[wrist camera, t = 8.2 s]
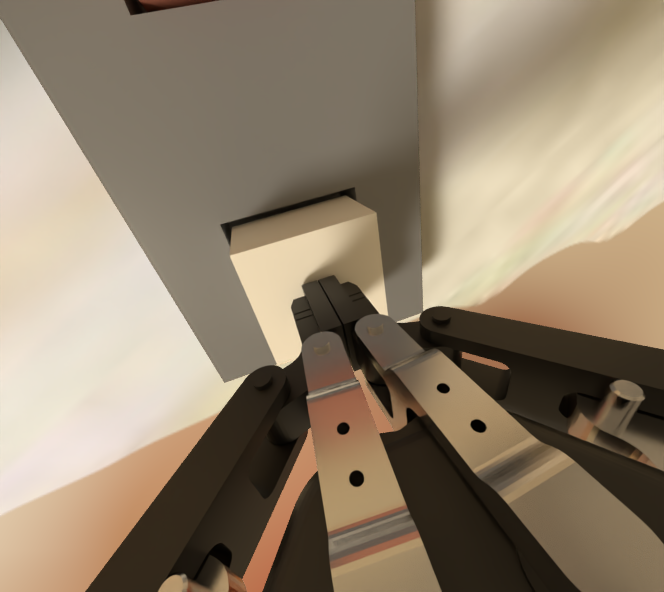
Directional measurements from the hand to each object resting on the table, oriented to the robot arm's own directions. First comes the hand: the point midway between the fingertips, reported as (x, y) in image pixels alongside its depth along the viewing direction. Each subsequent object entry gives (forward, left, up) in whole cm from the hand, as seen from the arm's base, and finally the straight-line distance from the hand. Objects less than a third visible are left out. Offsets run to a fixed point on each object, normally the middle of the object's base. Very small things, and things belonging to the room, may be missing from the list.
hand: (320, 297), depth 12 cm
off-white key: (0, 0, -4) cm, 4 cm away
